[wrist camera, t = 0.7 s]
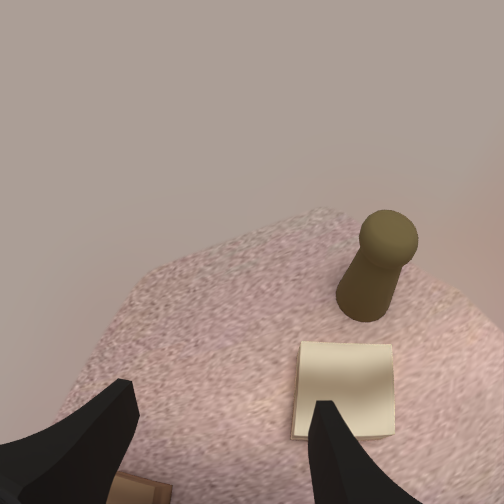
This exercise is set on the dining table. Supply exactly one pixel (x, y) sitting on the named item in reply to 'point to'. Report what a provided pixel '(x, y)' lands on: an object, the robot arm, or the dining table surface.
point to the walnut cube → (138, 490)
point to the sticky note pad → (346, 387)
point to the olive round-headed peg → (377, 265)
